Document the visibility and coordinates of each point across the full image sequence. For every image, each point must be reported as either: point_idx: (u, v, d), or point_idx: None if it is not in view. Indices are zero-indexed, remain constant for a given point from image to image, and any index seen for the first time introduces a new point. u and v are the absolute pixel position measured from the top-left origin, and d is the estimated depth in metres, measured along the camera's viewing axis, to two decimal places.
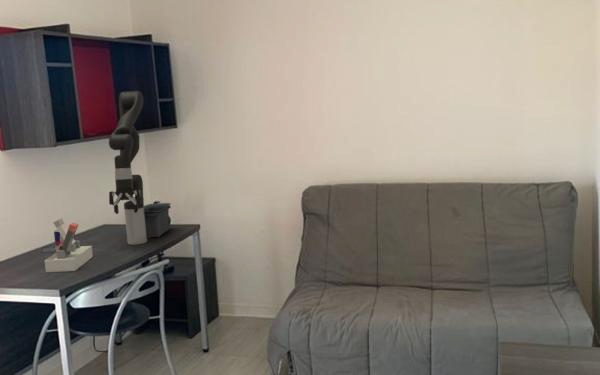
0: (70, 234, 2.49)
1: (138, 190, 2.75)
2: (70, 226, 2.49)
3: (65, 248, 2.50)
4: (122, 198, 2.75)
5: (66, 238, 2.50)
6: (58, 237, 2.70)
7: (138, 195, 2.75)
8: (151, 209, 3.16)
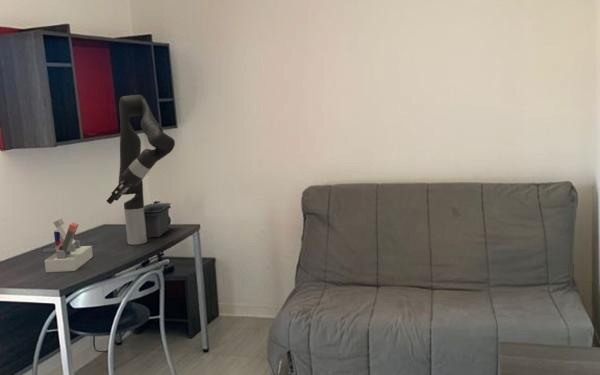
0: (70, 234, 2.49)
1: None
2: (70, 226, 2.49)
3: (65, 248, 2.50)
4: None
5: (66, 238, 2.50)
6: (58, 237, 2.70)
7: (130, 186, 2.55)
8: (151, 209, 3.16)
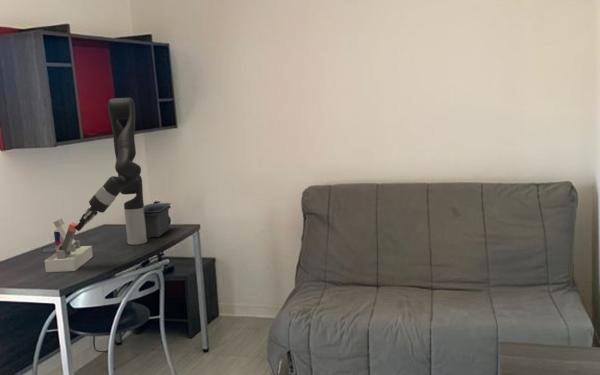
0: (70, 234, 2.49)
1: (97, 212, 2.56)
2: (70, 226, 2.49)
3: (65, 248, 2.50)
4: None
5: (66, 238, 2.50)
6: (58, 237, 2.70)
7: None
8: (151, 209, 3.16)
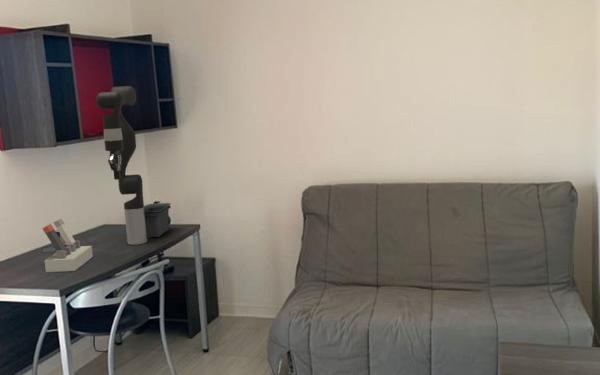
0: (50, 234, 2.49)
1: (122, 157, 2.64)
2: (44, 229, 2.49)
3: (58, 247, 2.50)
4: None
5: (51, 240, 2.50)
6: None
7: (121, 161, 2.63)
8: (151, 209, 3.16)
